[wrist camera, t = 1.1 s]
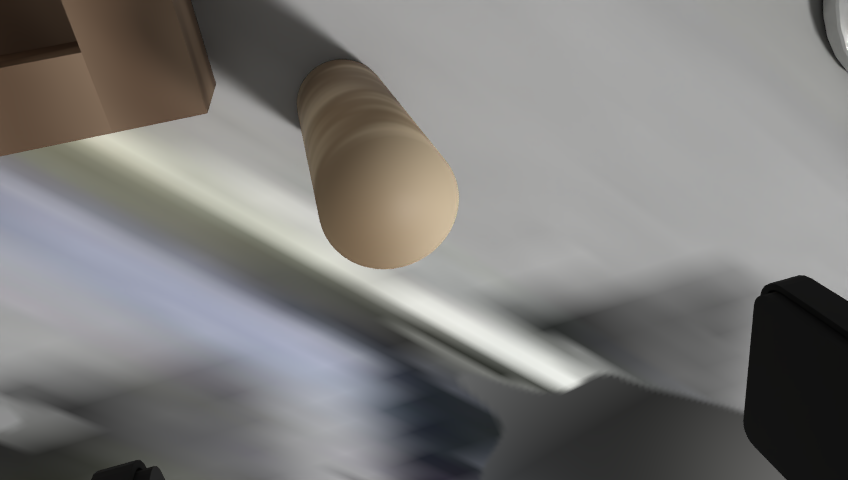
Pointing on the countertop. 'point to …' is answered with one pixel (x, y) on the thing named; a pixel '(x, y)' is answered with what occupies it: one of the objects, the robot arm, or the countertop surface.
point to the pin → (372, 169)
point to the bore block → (97, 68)
